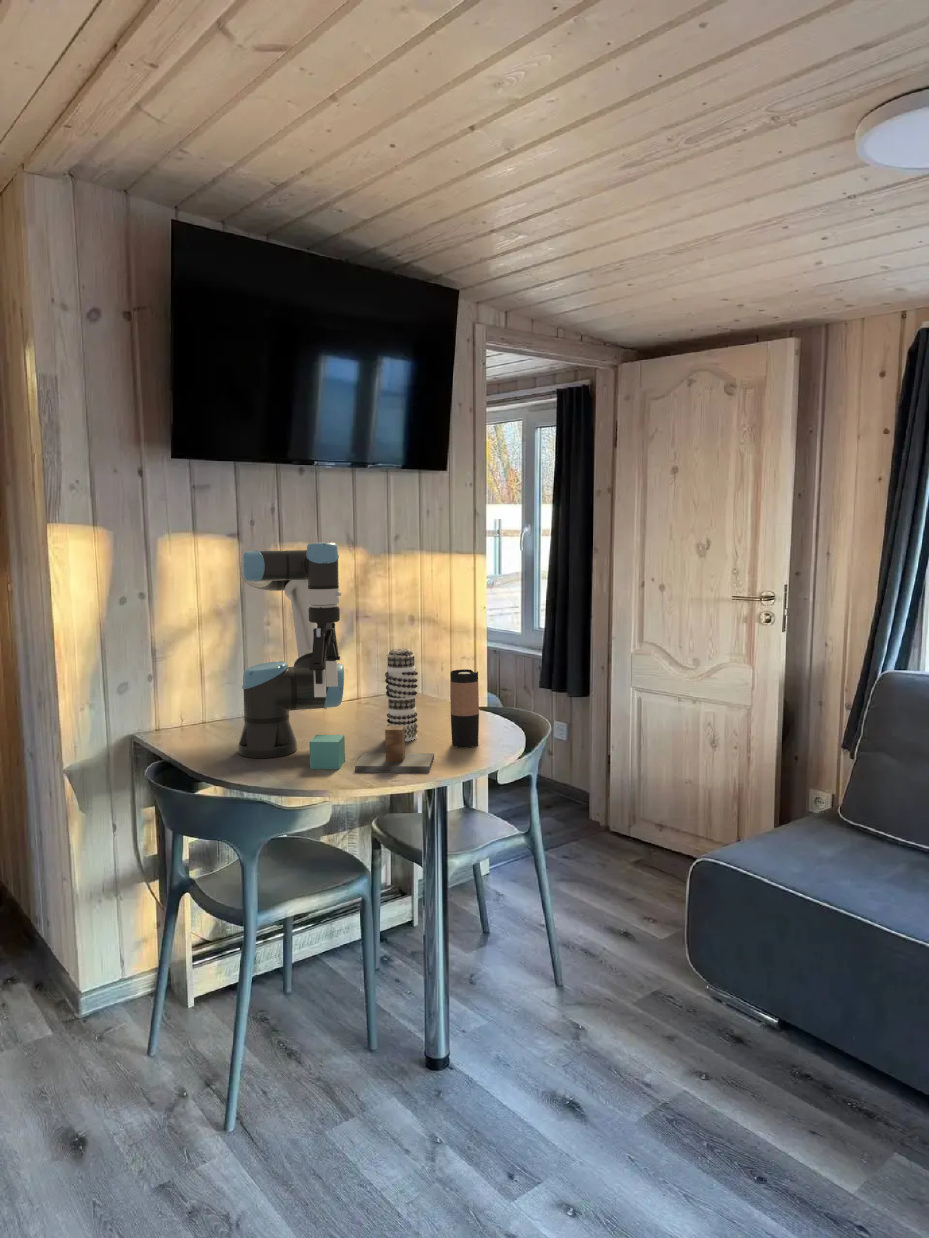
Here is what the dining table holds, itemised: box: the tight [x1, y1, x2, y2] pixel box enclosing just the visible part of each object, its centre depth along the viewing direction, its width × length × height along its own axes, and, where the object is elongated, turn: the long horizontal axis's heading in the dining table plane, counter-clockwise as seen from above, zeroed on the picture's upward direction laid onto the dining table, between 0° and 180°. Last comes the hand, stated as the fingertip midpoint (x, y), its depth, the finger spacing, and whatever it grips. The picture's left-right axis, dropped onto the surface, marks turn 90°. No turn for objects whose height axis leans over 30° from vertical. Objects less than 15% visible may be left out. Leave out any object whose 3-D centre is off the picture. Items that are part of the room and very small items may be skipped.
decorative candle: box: [384, 648, 419, 742], centre depth 240 cm, size 9×9×25 cm
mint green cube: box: [308, 734, 346, 770], centre depth 214 cm, size 7×7×7 cm
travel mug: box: [450, 668, 480, 748], centre depth 232 cm, size 8×8×20 cm
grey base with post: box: [354, 725, 435, 774], centre depth 213 cm, size 18×12×10 cm, turn 87°
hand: (326, 691), depth 213 cm, fingers open, 13 cm apart
